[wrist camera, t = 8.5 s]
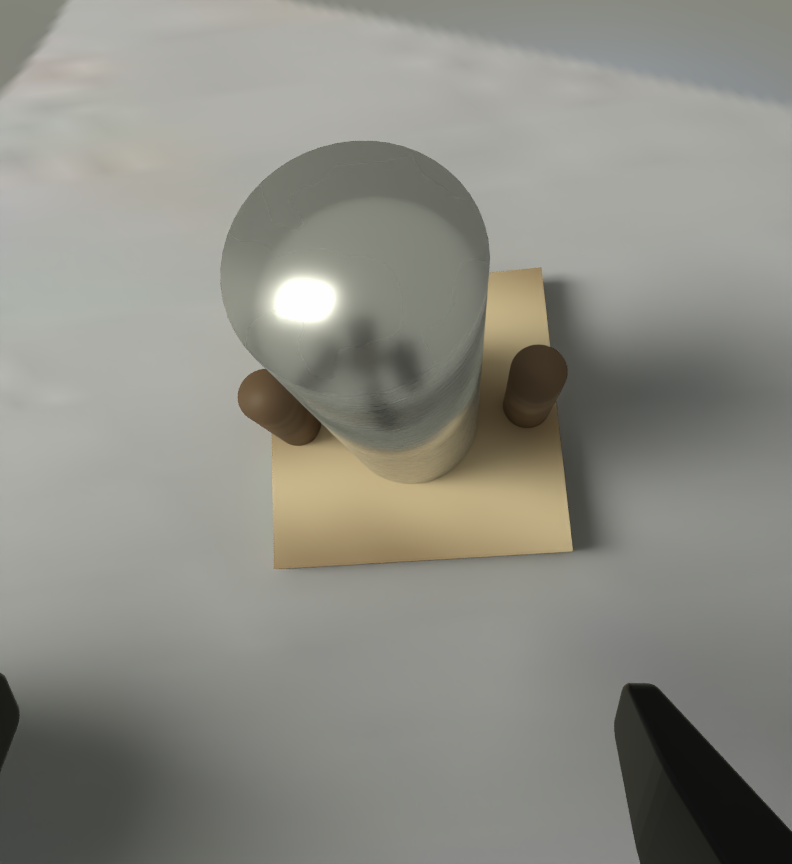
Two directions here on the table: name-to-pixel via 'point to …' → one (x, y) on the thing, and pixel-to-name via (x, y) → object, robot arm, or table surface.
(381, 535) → the peg rack
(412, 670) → the table surface
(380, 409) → the silver metal cylinder
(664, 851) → the robot arm
